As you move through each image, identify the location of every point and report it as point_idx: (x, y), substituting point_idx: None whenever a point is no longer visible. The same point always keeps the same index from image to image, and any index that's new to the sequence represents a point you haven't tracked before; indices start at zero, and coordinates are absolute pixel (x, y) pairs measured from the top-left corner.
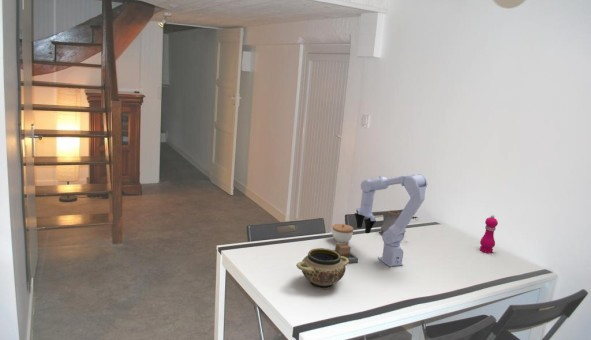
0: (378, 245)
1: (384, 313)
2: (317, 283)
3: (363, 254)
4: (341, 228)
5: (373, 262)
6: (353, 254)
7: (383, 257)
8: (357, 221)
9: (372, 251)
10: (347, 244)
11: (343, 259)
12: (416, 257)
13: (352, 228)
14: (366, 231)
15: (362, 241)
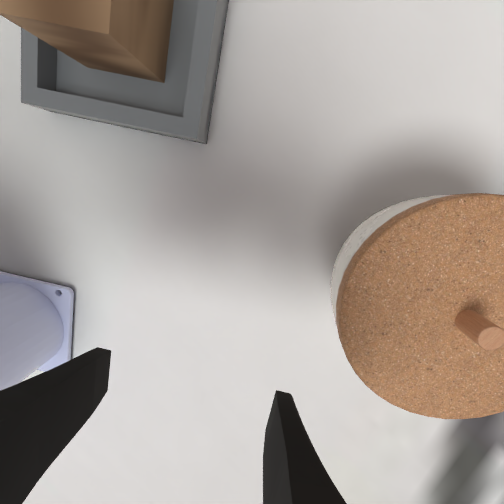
0: (233, 433)
1: None
2: None
3: (153, 250)
4: (442, 269)
5: (34, 220)
6: (88, 114)
7: (7, 291)
8: (286, 454)
9: (173, 337)
10: (62, 25)
11: None
12: None
13: (380, 385)
14: (78, 360)
15: (325, 398)
